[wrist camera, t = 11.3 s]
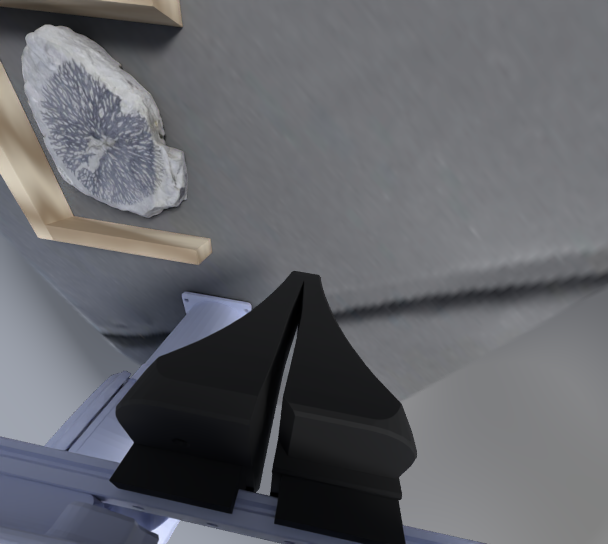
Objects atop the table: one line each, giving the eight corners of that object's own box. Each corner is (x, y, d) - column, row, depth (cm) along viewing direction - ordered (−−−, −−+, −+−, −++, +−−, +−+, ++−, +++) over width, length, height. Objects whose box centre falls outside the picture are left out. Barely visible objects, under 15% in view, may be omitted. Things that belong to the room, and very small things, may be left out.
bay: (212, 252, 21) (198, 264, 19) (66, 228, 22) (38, 237, 20) (177, -11, 12) (145, -42, 10) (-67, -37, 13) (-145, -71, 11)
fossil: (201, 182, 15) (100, 248, 17) (221, 183, 19) (136, 237, 21) (67, -17, 12) (-44, 92, 13) (124, 33, 16) (32, 114, 17)
